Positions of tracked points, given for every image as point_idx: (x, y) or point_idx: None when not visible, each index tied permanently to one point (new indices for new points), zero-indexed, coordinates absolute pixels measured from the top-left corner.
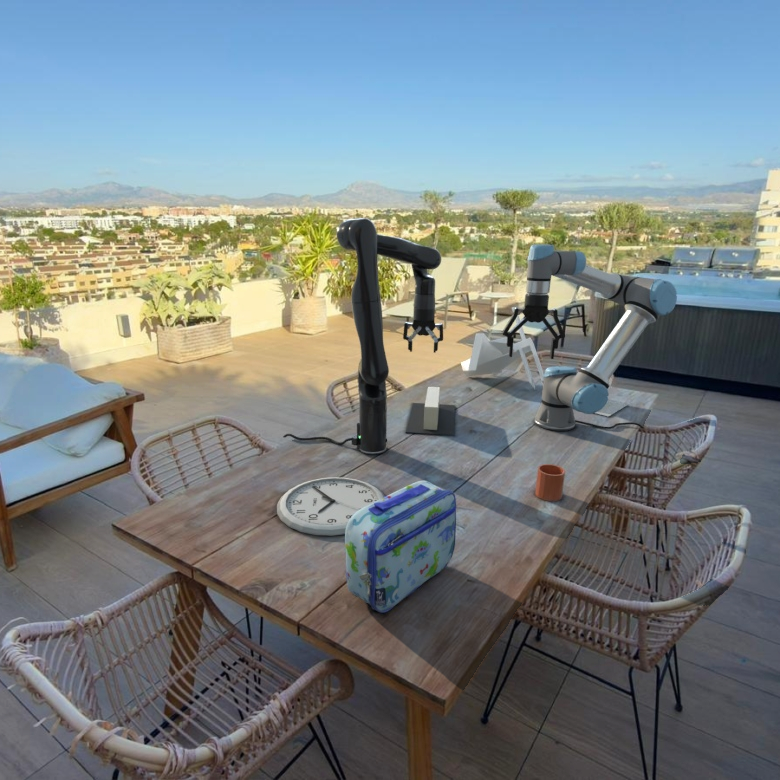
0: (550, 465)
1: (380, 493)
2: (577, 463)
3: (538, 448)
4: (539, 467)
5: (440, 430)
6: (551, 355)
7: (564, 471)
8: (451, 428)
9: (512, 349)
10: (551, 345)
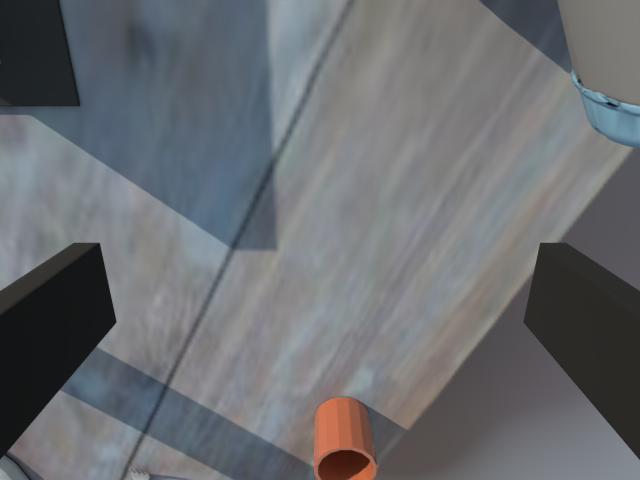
0: (348, 448)
1: (3, 476)
2: (459, 262)
3: (368, 171)
4: (318, 464)
5: (15, 65)
6: (542, 342)
7: (374, 474)
8: (51, 34)
9: (65, 379)
10: (636, 352)
